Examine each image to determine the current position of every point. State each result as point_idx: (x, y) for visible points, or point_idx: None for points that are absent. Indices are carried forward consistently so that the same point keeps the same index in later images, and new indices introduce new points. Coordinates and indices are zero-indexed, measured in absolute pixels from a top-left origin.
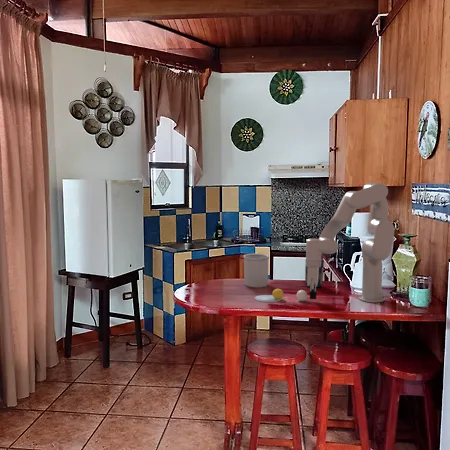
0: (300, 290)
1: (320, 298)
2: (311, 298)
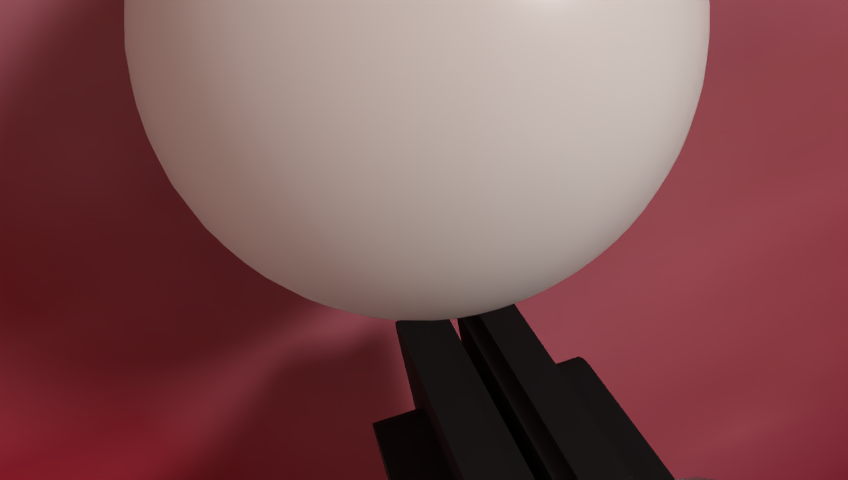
0: (457, 38)
1: (801, 357)
2: (411, 372)
